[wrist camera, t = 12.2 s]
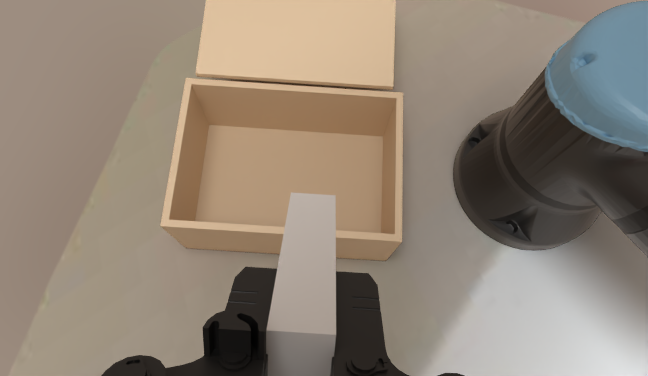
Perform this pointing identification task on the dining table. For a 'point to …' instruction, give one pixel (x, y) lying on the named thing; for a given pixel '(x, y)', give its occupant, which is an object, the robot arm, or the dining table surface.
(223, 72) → the light wood flat panel
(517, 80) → the dining table surface
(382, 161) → the light wood open box
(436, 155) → the dining table surface
